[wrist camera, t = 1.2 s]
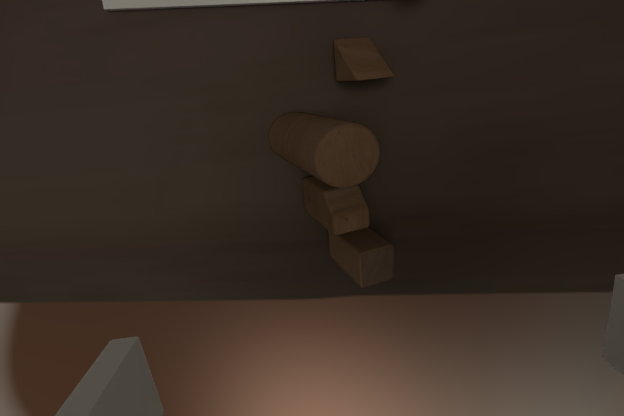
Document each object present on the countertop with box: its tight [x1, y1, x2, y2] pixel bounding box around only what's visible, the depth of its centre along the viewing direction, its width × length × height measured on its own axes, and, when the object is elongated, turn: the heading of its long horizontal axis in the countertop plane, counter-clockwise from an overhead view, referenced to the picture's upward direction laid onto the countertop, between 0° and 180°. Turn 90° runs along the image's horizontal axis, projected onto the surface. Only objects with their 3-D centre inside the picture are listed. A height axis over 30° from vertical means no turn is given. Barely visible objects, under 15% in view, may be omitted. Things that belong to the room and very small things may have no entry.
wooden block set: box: [269, 37, 395, 288], centre depth 27 cm, size 18×9×10 cm, turn 5°
